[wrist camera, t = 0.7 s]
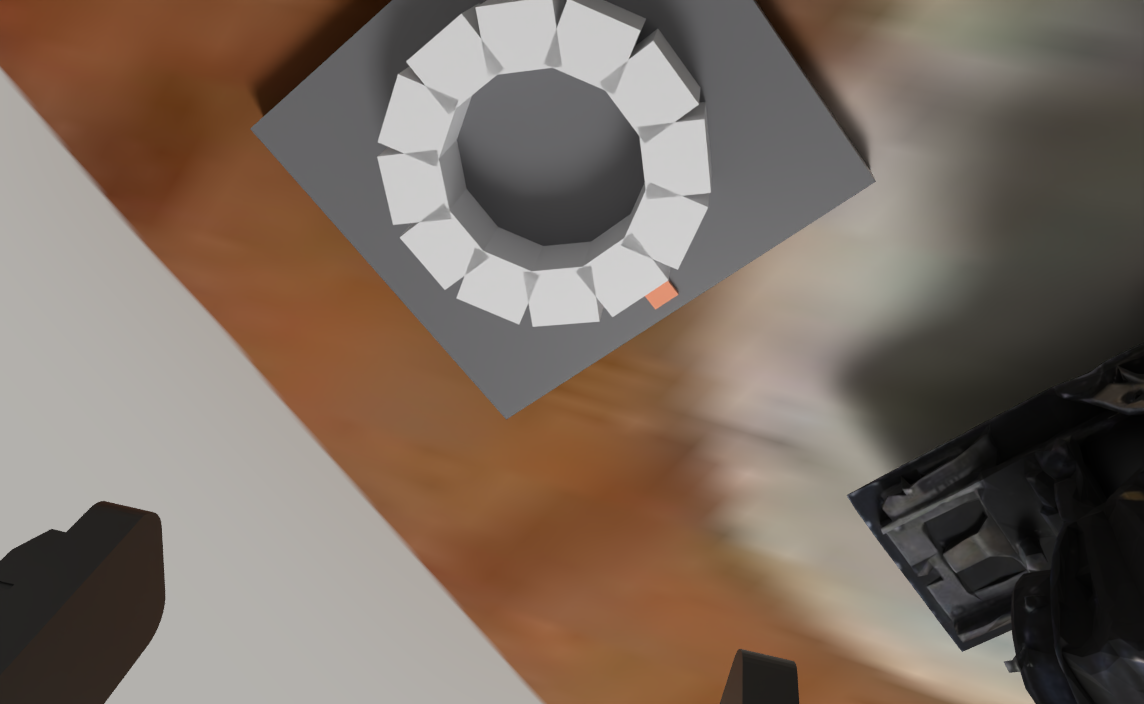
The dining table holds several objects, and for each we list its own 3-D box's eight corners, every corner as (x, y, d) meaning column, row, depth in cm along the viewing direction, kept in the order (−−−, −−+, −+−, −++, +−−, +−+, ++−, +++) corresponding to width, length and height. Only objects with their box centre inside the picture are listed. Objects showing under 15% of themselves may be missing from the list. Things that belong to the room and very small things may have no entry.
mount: (620, -201, 29) (607, -208, 26) (870, 171, 33) (886, 204, 30) (264, 120, 35) (219, 146, 32) (512, 404, 39) (493, 452, 36)
